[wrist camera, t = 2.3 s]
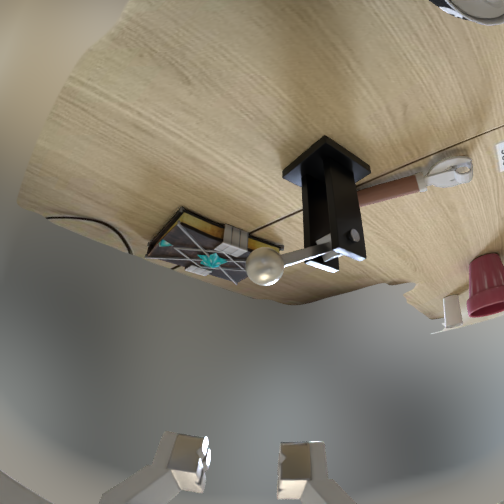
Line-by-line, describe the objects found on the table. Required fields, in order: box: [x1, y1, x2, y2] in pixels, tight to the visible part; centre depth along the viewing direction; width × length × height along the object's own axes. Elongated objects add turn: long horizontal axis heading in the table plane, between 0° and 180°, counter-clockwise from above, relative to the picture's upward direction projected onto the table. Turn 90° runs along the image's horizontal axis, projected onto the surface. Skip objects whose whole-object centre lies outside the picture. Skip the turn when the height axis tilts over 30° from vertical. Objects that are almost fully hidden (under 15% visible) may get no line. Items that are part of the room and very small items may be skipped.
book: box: [145, 207, 284, 285], centre depth 55 cm, size 22×17×5 cm
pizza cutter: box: [357, 156, 473, 207], centre depth 35 cm, size 20×6×3 cm, turn 132°
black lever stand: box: [282, 136, 371, 273], centre depth 33 cm, size 8×8×13 cm
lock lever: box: [246, 233, 343, 286], centre depth 28 cm, size 13×3×3 cm, turn 57°
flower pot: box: [467, 253, 504, 317], centre depth 54 cm, size 14×14×13 cm
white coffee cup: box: [443, 295, 463, 328], centre depth 81 cm, size 7×7×10 cm
